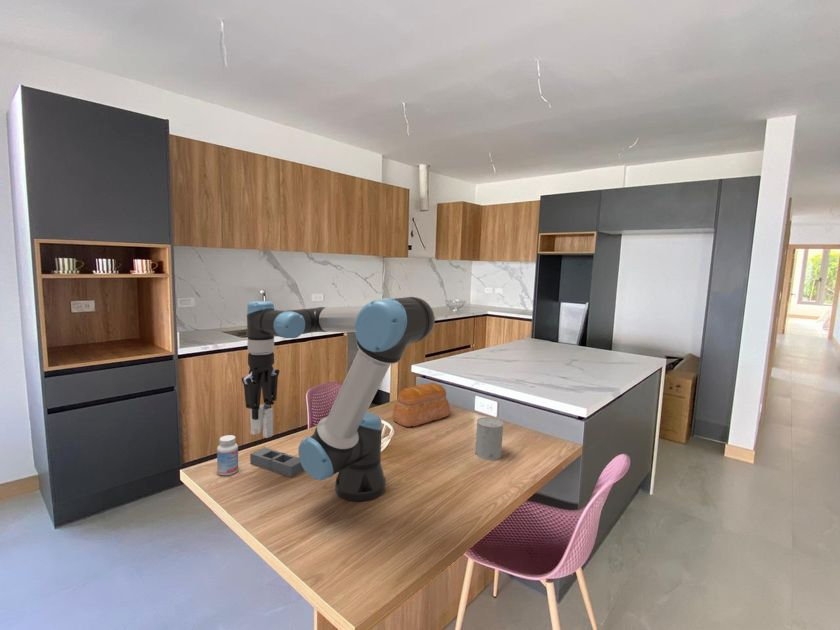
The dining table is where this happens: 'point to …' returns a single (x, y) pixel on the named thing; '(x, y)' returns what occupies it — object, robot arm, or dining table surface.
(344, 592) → the dining table surface
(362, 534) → the dining table surface
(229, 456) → the pill bottle
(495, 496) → the dining table surface
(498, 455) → the grey concrete cylinder
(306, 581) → the dining table surface
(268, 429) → the white rectangular block
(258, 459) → the grey slotted block
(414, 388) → the bread
